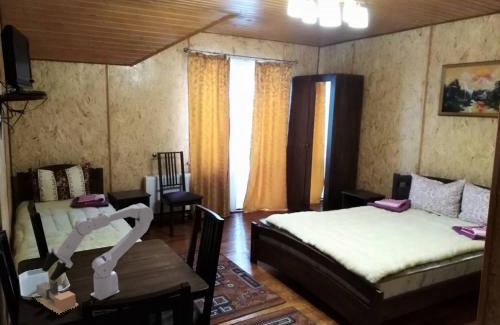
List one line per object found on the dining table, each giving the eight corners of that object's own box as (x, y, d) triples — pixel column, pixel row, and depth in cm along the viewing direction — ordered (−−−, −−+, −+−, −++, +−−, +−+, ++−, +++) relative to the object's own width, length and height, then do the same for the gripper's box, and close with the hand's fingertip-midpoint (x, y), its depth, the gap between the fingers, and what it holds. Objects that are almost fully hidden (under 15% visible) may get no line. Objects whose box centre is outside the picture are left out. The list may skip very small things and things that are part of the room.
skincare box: (66, 280, 179) (64, 255, 177) (61, 284, 174) (60, 259, 173) (52, 280, 178) (51, 255, 177) (48, 284, 174) (46, 259, 172)
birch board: (50, 290, 168) (50, 288, 168) (78, 306, 154) (78, 304, 154) (31, 297, 162) (31, 295, 161) (58, 314, 148) (58, 312, 148)
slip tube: (46, 290, 164) (44, 274, 163) (63, 300, 155) (62, 283, 154) (40, 292, 162) (39, 276, 161) (57, 302, 154) (56, 286, 153)
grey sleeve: (47, 290, 166) (46, 281, 165) (56, 296, 161) (55, 286, 160) (37, 294, 162) (36, 285, 162) (46, 299, 158) (45, 290, 157)
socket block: (69, 301, 156) (68, 290, 156) (75, 305, 153) (75, 294, 153) (54, 307, 152) (54, 296, 151) (61, 311, 149) (60, 300, 148)
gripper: (54, 235, 156) (32, 264, 152) (70, 250, 147) (47, 281, 144) (67, 240, 161) (46, 269, 158) (84, 255, 153) (62, 286, 149)
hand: (48, 275), depth 151 cm, fingers open, 7 cm apart
